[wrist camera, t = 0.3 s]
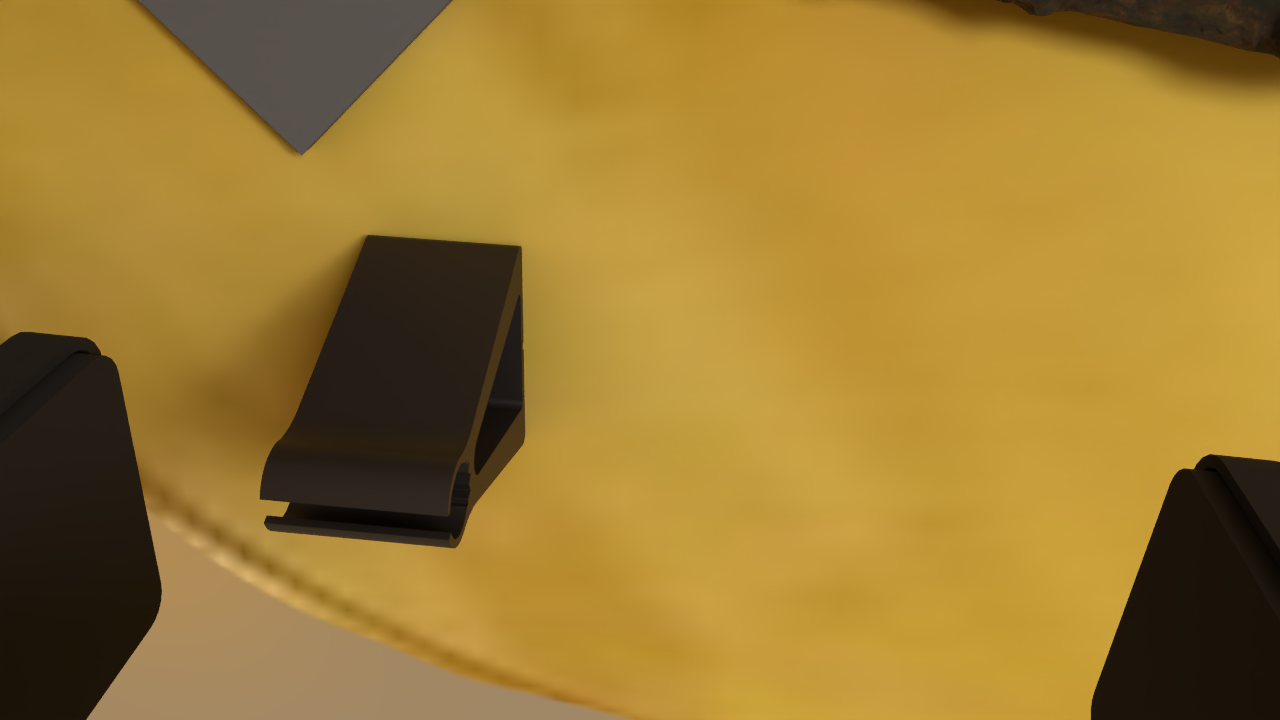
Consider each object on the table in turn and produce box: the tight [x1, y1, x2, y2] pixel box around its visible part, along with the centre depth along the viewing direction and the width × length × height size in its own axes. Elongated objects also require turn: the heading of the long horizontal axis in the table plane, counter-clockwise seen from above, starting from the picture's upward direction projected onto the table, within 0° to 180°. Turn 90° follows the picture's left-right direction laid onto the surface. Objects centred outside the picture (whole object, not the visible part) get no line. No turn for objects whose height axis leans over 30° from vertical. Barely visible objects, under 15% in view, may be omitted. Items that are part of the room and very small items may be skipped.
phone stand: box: [260, 235, 525, 548], centre depth 39 cm, size 9×6×12 cm, turn 178°
